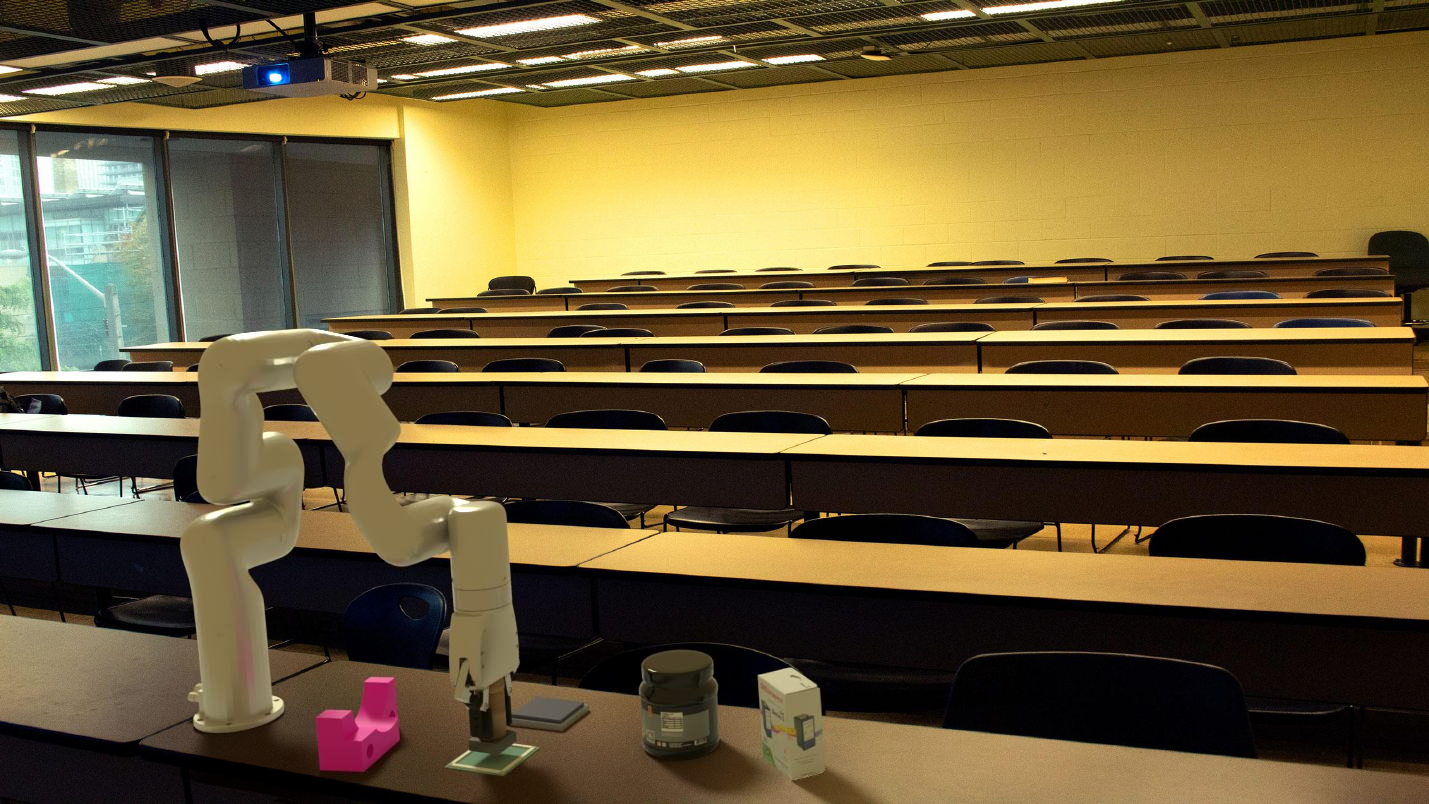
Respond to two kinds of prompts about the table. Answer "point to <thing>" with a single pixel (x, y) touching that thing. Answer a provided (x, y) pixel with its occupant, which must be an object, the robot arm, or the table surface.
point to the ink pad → (549, 713)
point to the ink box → (791, 723)
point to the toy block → (360, 729)
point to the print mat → (493, 760)
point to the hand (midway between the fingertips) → (491, 729)
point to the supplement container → (679, 705)
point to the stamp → (495, 723)
